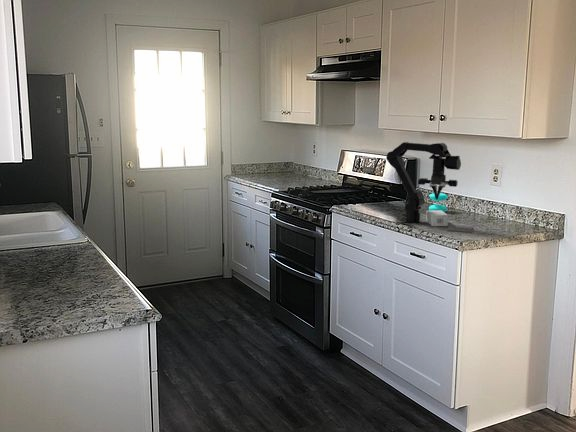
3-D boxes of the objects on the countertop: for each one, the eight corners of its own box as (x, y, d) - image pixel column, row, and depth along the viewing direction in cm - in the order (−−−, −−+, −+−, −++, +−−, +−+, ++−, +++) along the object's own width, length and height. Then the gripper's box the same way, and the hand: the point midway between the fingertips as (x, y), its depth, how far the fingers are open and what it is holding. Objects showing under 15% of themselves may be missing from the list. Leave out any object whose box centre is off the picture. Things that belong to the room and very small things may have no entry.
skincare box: (432, 215, 298) (425, 209, 312) (431, 227, 299) (425, 221, 313) (449, 214, 297) (441, 209, 312) (448, 226, 299) (441, 220, 313)
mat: (447, 230, 288) (447, 229, 288) (450, 225, 301) (450, 224, 301) (470, 232, 284) (470, 231, 284) (473, 227, 297) (473, 226, 297)
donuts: (427, 192, 347) (445, 192, 347) (426, 209, 349) (444, 210, 349) (432, 195, 337) (449, 195, 337) (431, 212, 339) (448, 212, 339)
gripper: (417, 168, 295) (415, 200, 298) (456, 170, 289) (454, 202, 291) (420, 166, 305) (419, 197, 308) (458, 168, 299) (456, 199, 302)
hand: (436, 199), depth 302 cm, fingers closed
